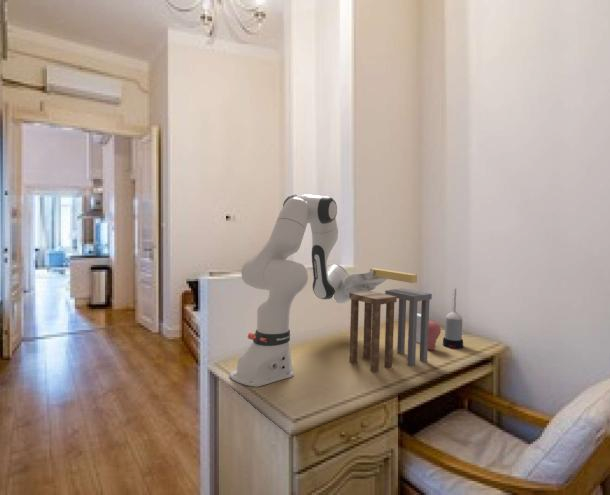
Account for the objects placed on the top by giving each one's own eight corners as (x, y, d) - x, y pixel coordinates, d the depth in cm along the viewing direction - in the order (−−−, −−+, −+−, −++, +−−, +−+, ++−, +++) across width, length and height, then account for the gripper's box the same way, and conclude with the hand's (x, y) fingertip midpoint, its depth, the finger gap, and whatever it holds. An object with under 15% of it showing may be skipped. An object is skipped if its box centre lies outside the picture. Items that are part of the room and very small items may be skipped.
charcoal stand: (383, 355, 153) (385, 290, 151) (400, 351, 159) (402, 288, 157) (411, 367, 141) (414, 296, 140) (429, 361, 147) (431, 293, 146)
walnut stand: (347, 361, 146) (349, 292, 144) (366, 356, 152) (368, 290, 150) (374, 373, 135) (376, 299, 133) (394, 367, 140) (396, 296, 139)
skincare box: (426, 342, 172) (427, 315, 171) (420, 343, 170) (421, 316, 169) (415, 338, 177) (416, 312, 176) (409, 340, 175) (410, 313, 174)
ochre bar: (369, 275, 163) (369, 268, 162) (374, 275, 164) (374, 268, 164) (411, 283, 145) (411, 275, 144) (416, 282, 146) (417, 274, 146)
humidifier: (449, 349, 163) (452, 290, 161) (439, 343, 171) (441, 286, 169) (467, 348, 164) (469, 289, 163) (455, 342, 172) (458, 286, 171)
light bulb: (440, 353, 157) (442, 324, 157) (422, 351, 159) (423, 322, 158) (438, 347, 164) (439, 319, 163) (421, 346, 166) (422, 318, 165)
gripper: (337, 279, 166) (356, 266, 156) (371, 276, 178) (392, 263, 168) (341, 293, 164) (362, 280, 154) (376, 289, 176) (397, 277, 165)
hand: (377, 271), depth 161 cm, fingers closed on ochre bar, 3 cm apart
